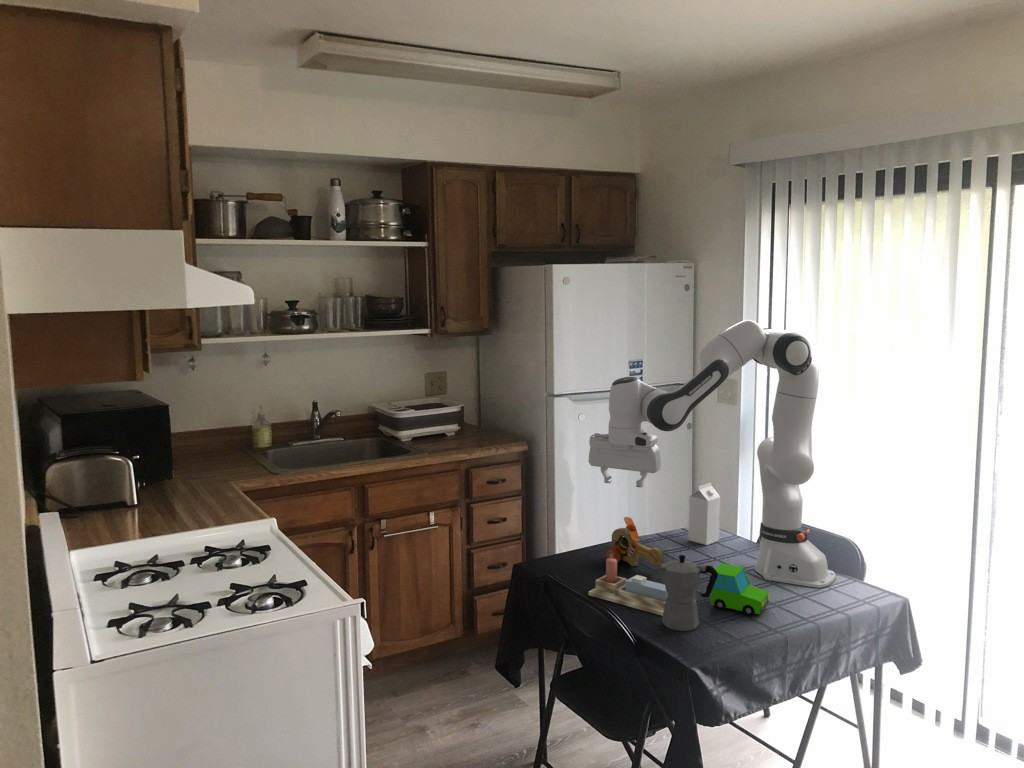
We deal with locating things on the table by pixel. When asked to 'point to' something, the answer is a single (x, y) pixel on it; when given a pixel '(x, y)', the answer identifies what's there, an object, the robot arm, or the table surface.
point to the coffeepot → (683, 592)
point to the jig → (625, 596)
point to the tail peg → (611, 570)
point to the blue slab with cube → (646, 588)
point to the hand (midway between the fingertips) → (623, 484)
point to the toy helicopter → (632, 546)
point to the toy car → (737, 591)
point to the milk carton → (704, 515)
